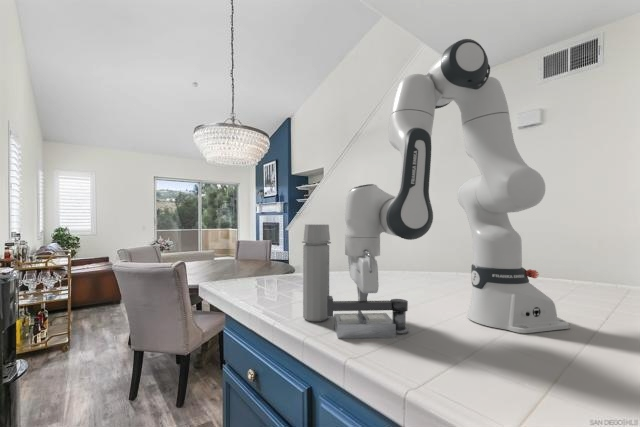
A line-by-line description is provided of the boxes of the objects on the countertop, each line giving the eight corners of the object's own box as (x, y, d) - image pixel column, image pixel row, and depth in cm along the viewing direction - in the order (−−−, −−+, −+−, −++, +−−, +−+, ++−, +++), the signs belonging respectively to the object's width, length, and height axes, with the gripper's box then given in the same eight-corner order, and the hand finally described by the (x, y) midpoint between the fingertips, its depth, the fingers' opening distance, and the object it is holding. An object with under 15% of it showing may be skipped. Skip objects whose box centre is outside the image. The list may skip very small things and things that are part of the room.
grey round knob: (405, 327, 73) (405, 308, 73) (411, 334, 69) (411, 314, 69) (387, 327, 73) (387, 309, 73) (392, 334, 69) (392, 314, 69)
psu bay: (386, 325, 75) (386, 309, 75) (395, 337, 67) (395, 320, 67) (334, 325, 74) (334, 310, 74) (337, 338, 66) (337, 321, 66)
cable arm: (404, 311, 73) (404, 294, 73) (410, 316, 69) (410, 298, 69) (326, 312, 72) (326, 295, 72) (328, 317, 68) (328, 299, 68)
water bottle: (328, 323, 76) (328, 224, 76) (298, 321, 77) (298, 224, 78) (333, 313, 85) (333, 224, 85) (306, 311, 86) (307, 224, 87)
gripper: (385, 252, 66) (385, 315, 66) (366, 245, 87) (366, 293, 86) (357, 252, 66) (357, 316, 66) (345, 245, 86) (344, 293, 86)
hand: (362, 303), depth 76 cm, fingers closed
